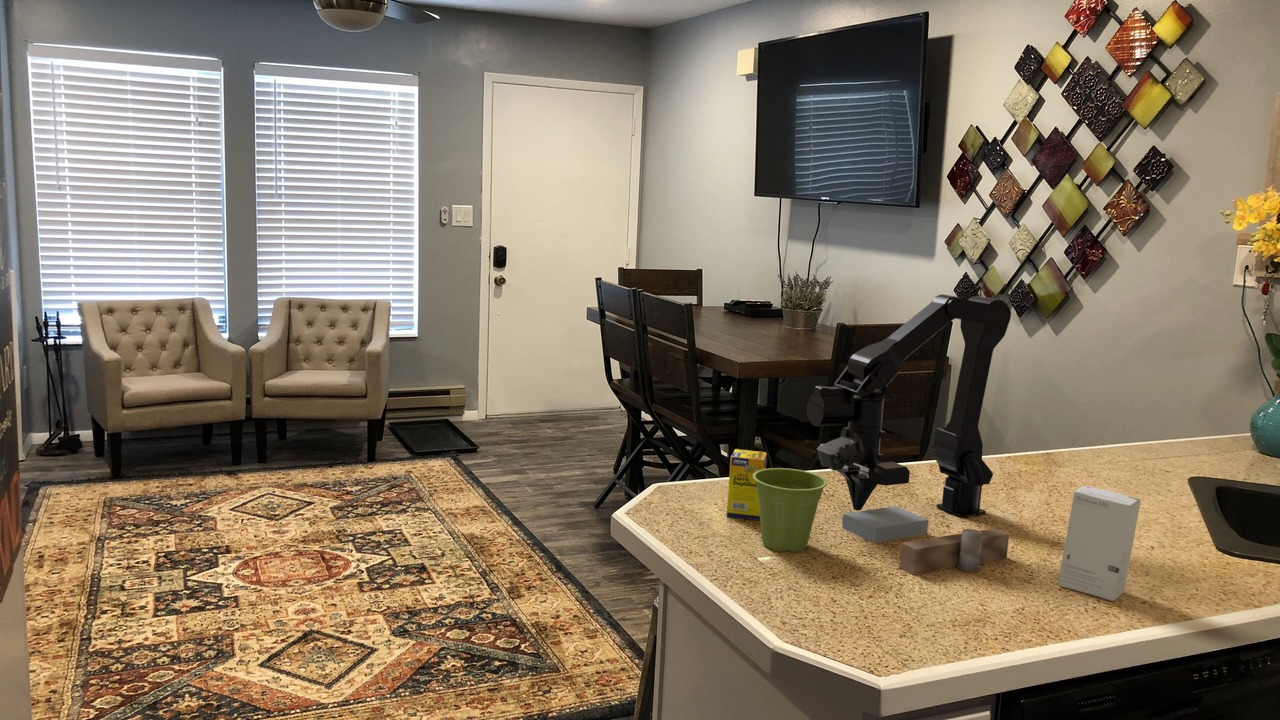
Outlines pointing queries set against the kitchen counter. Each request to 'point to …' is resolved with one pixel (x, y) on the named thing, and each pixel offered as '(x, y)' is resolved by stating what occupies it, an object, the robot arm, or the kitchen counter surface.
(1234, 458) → the kitchen counter surface
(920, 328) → the robot arm
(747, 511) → the supplement box
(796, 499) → the plant pot
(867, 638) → the kitchen counter surface
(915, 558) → the walnut bar
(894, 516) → the slate plate
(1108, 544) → the skincare box
